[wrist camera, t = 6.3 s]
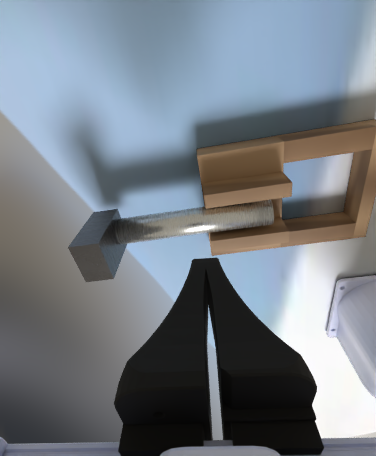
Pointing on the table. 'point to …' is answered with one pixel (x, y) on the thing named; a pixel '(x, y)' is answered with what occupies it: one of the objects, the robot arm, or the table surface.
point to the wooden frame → (288, 185)
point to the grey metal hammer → (155, 232)
